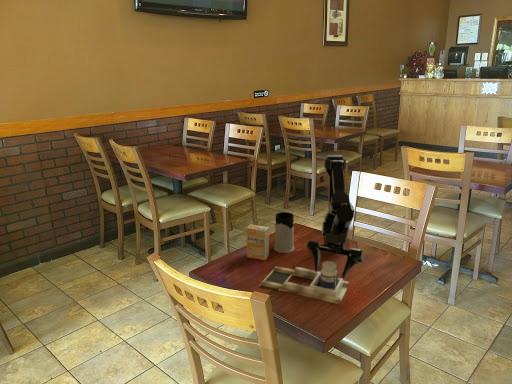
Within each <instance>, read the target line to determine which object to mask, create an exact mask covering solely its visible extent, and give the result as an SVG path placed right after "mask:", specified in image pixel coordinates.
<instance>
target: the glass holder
mask: <svg viewBox="0 0 512 384" xmlns="http://www.w3.org/2000/svg"><path fill="white" fill-rule="evenodd" d="M294 216H295V215H294V213H293V212H292V211H290V212H287V211H285V212H284V211H282V212H278V213H276V214H275V224H274V225H275V226H274V246H273V249H274V251H275V252H277V253H281V254H286V253H287V254H288V253H289V254H290V253H291V252H293V251H295V246H294V241H295V240H294V239H295V225H294V224H295V223H294Z"/></svg>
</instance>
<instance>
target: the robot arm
mask: <svg viewBox="0 0 512 384" xmlns="http://www.w3.org/2000/svg"><path fill="white" fill-rule="evenodd" d="M323 167H324V170H325V173H326V174H327V175H328V204H327V205H328V207H327V208H328V209H327V210H328V211H327V212H326V215H325V216H324V217H323V218H324V219H323V221H322V224H321V225H322V226H321V234H322V237H323V244H321V242H320V241H316V240H311V239H309V241H308V242H307V244H306V248H307V251H308V252H309V253H311V255H312V256H313V260H314V271H315V272H317V271H319V266H320V262H321V258H322V255H321V254H322V252H324V253H330V254H335V255H340V256H345V257H347V258H346V261H345V262H346V263H345V265H344V267H343V271H342V275H341V276H342V277H341V279H344V278H345V277H346V276H347V274H348V273H349V271H350V270H351V269H352V268H353V267H354V266H355V265H358V264H359V263H363V262H364V252H363V250H362V249H360V248H356V247H350V248H349V250H347V249H345V248H346V244H347V243H348V234H349V231H350V230H349V229H350V226H351V224H352V221H353V219H354V217H355V207H354V206H353V204H352V202H350V201H351V200H350V196H349V195H348V194H347V192H346V187H345V186H346V185H345V178H344V177H345V176H344V175H345V174H344V173H345V172H344V170H345V169H347V158H346V157H343V155H342V154H327V155H326V157H323Z"/></svg>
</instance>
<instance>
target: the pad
mask: <svg viewBox="0 0 512 384" xmlns="http://www.w3.org/2000/svg"><path fill="white" fill-rule="evenodd" d="M348 288H349V286H348V287H344V286H342V288H341V290H340V292H339V293H338V295H337V297H338V298H341V301H342V300H343V299H344V297H345V294H346V292H347V290H348Z"/></svg>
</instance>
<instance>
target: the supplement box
mask: <svg viewBox="0 0 512 384" xmlns="http://www.w3.org/2000/svg"><path fill="white" fill-rule="evenodd" d="M245 230H246V258H247V259H248V258H249V259H255V260H261V261H266V260H267V259H268V258H269V256H270V255H269V254H270V226H266V225H265V226H264V225H257V224H252V223H250V224H249V225H248V226H246V229H245Z"/></svg>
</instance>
